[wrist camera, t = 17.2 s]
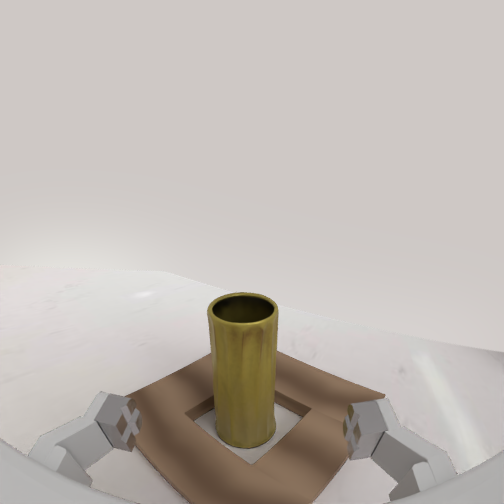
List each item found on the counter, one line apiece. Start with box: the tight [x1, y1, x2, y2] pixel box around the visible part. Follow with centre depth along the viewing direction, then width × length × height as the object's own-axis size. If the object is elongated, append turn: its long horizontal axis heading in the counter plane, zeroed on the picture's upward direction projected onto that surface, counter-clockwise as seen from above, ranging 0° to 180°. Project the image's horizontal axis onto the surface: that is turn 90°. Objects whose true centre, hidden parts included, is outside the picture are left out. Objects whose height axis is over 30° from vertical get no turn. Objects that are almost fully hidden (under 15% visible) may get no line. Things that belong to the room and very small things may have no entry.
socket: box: [125, 351, 385, 504], centre depth 24 cm, size 21×21×2 cm
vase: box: [207, 292, 278, 448], centre depth 22 cm, size 6×6×14 cm
